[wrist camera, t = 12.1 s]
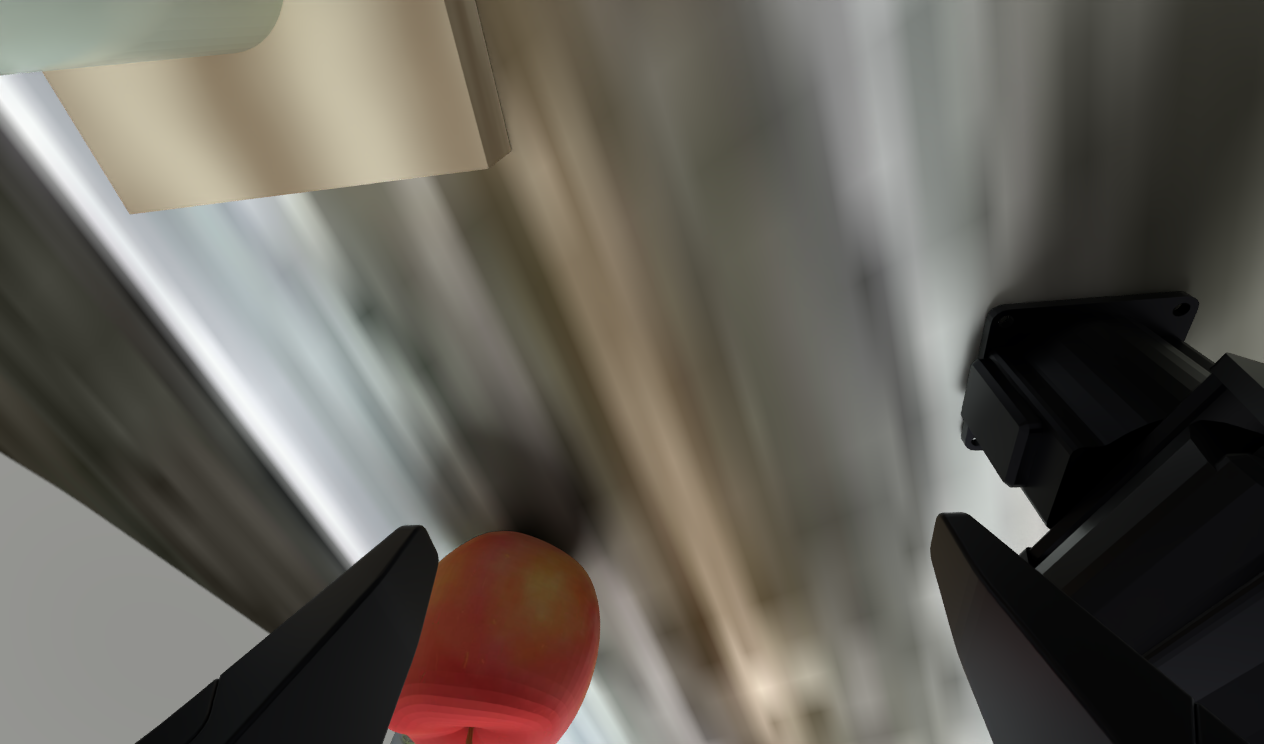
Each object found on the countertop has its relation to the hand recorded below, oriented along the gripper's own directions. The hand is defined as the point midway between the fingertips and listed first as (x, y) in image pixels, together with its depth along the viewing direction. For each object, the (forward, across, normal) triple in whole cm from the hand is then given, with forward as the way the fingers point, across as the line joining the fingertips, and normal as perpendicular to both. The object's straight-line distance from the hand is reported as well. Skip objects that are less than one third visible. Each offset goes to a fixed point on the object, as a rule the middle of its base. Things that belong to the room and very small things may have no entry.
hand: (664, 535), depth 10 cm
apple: (+13, +10, +16) cm, 23 cm away
